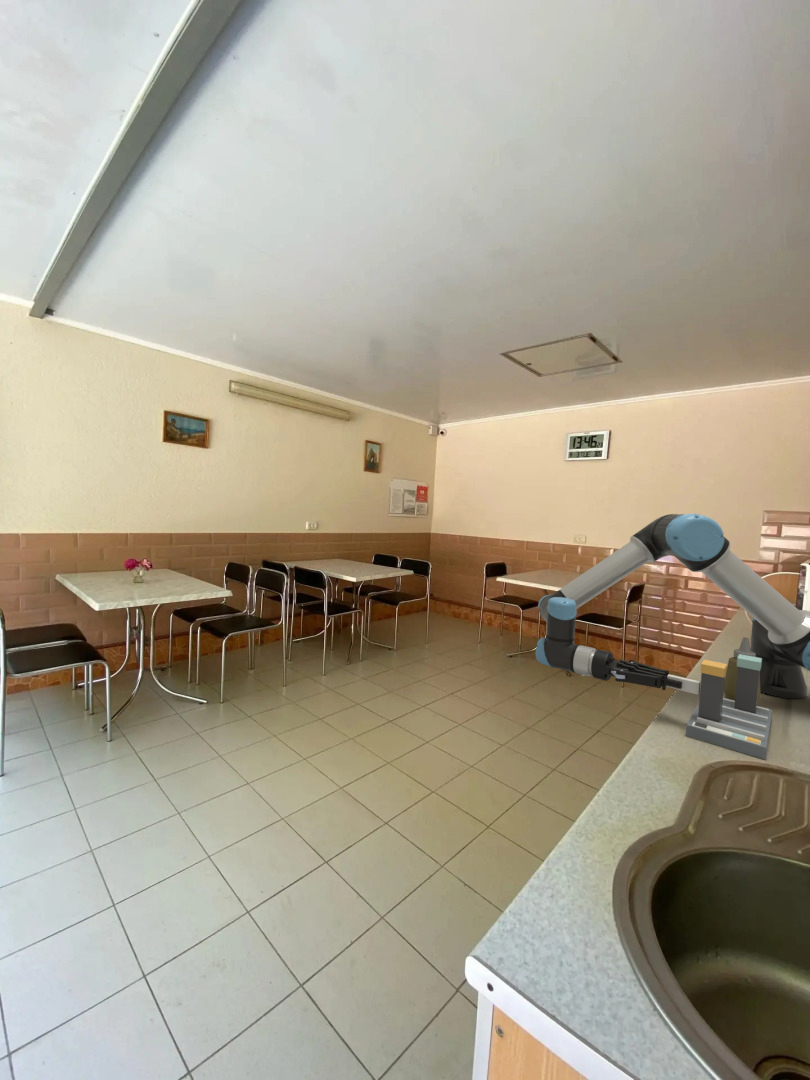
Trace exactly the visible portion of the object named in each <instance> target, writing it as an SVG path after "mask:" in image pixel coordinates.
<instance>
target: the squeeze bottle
mask: <svg viewBox="0 0 810 1080" xmlns="http://www.w3.org/2000/svg"><path fill="white" fill-rule="evenodd" d="M739 654H742V655H747V656H752V657H756V654H755V653H754V652H751V642H750V638H748V637H742V639H741V642H740V646H739V648H738V649H733V656H732V657H730V658H728V661H727V671H726V675H725V681H724V694H723V695H724V697H725V698H726V699H730V700H734V701H735V694H736V682H737V670H738V666H737V658H738V656H739ZM761 697H762V696H761V692H760V674H759V686H758V697H757V704H758V702H759V701H760V699H761Z"/></svg>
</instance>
